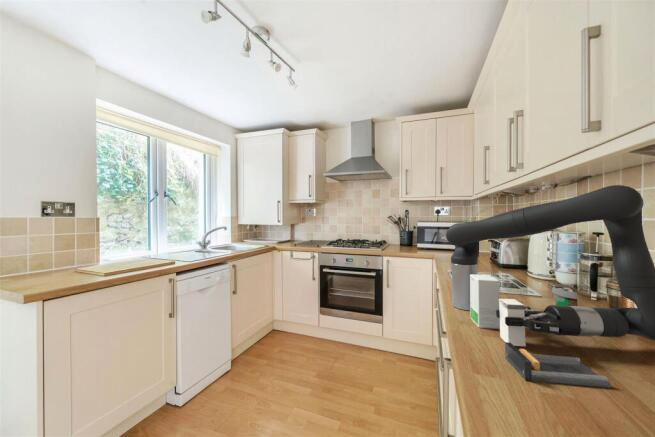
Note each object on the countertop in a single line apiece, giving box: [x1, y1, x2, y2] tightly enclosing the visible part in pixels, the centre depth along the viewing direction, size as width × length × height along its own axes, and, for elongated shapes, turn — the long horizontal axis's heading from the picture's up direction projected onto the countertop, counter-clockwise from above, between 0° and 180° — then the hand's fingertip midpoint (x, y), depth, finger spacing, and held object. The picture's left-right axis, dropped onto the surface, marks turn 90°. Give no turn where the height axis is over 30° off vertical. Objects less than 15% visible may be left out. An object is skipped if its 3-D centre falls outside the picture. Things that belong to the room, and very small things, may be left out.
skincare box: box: [469, 274, 501, 330], centre depth 85 cm, size 8×7×16 cm
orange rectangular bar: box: [519, 348, 540, 371], centre depth 59 cm, size 6×1×2 cm, turn 168°
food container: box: [551, 284, 579, 306], centre depth 90 cm, size 12×6×10 cm, turn 141°
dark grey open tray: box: [504, 341, 611, 389], centre depth 58 cm, size 9×15×4 cm, turn 78°
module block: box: [499, 298, 527, 347], centre depth 71 cm, size 5×4×11 cm
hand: (501, 317), depth 71 cm, fingers closed on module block, 5 cm apart
